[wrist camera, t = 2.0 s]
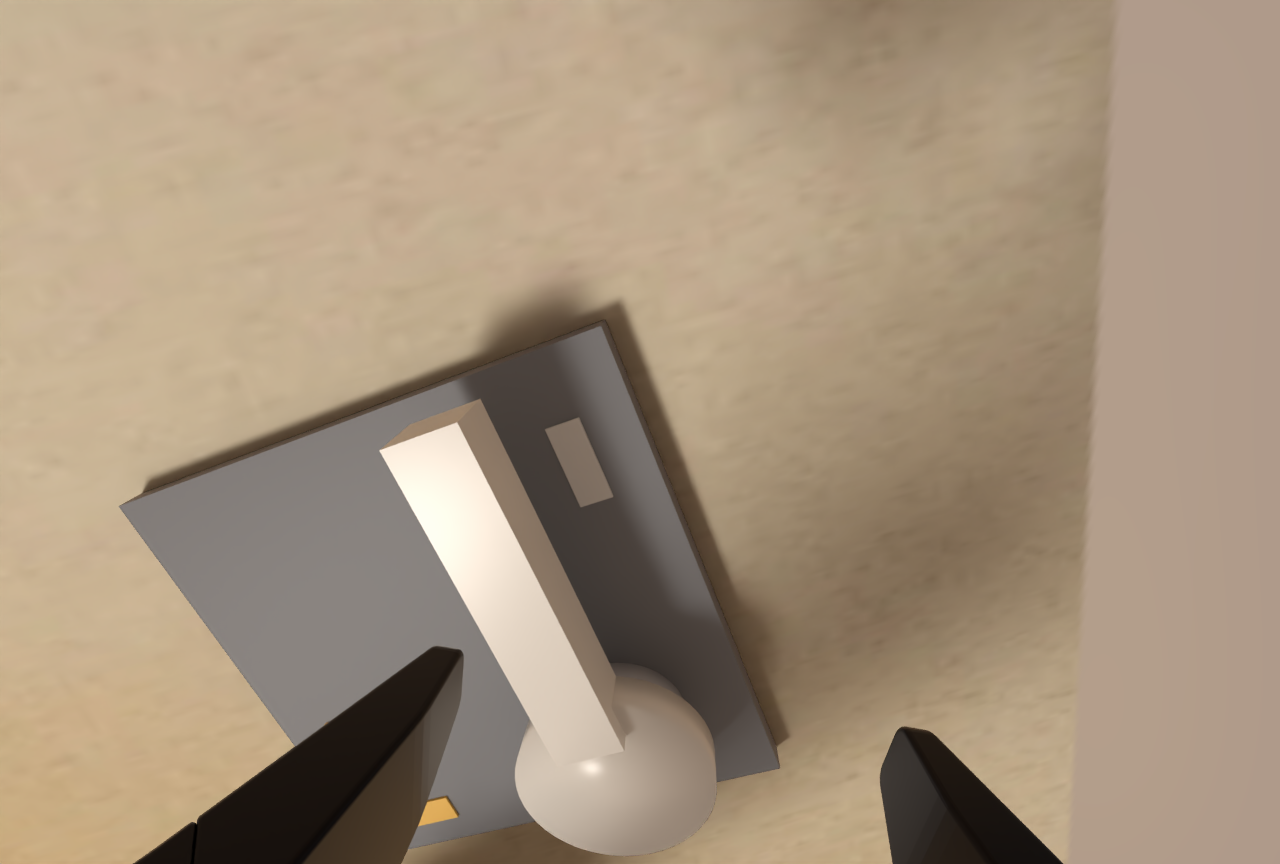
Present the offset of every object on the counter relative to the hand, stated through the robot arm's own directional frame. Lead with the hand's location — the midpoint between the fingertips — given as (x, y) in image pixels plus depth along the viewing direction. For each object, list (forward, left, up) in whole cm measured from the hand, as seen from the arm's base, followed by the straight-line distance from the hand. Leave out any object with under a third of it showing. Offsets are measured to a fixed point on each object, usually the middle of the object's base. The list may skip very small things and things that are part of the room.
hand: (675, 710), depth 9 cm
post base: (-6, +11, -13) cm, 18 cm away
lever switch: (-6, +6, -10) cm, 13 cm away
